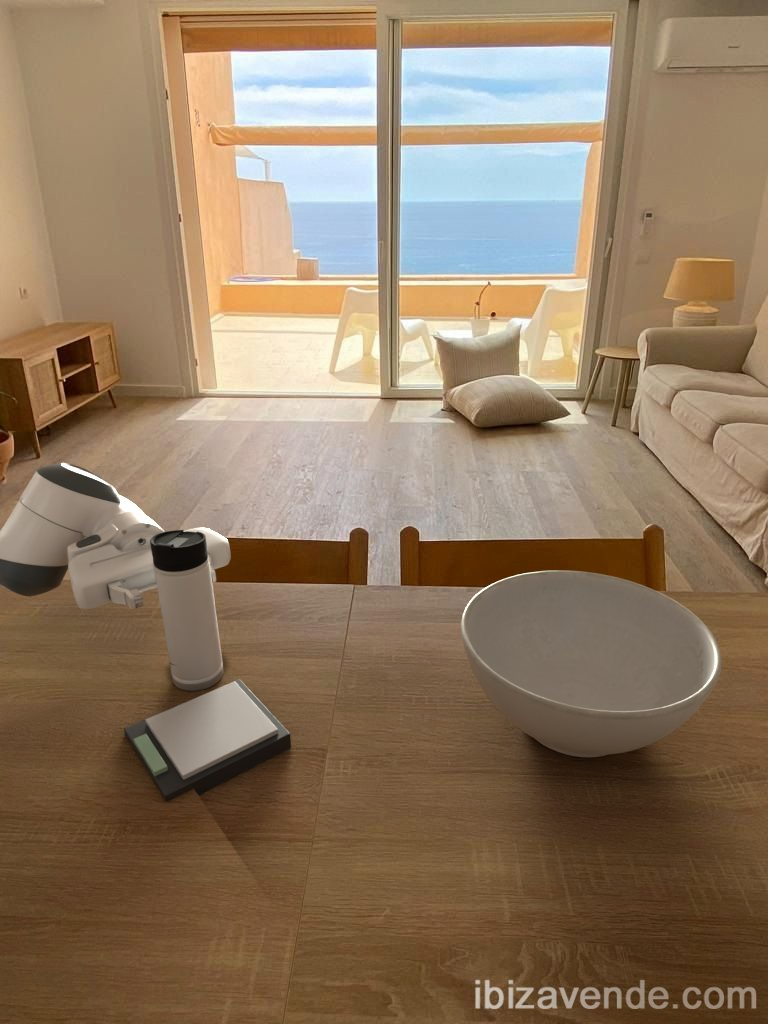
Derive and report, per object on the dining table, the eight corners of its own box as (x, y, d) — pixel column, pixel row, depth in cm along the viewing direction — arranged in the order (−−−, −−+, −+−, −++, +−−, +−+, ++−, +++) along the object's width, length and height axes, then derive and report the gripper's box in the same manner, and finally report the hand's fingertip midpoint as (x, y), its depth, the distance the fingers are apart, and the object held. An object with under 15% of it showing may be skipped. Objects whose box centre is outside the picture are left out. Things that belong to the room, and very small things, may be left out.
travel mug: (161, 689, 85) (136, 544, 77) (187, 658, 91) (166, 519, 83) (208, 697, 84) (187, 550, 75) (232, 664, 89) (214, 524, 81)
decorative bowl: (508, 628, 96) (513, 551, 91) (717, 691, 84) (737, 605, 79) (415, 749, 75) (417, 657, 70) (676, 856, 63) (699, 754, 58)
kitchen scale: (167, 811, 68) (164, 791, 67) (126, 742, 77) (122, 723, 76) (291, 747, 76) (290, 729, 75) (241, 691, 84) (239, 674, 83)
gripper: (208, 548, 102) (253, 586, 92) (63, 592, 91) (95, 640, 81) (204, 509, 100) (249, 543, 90) (53, 549, 88) (85, 594, 78)
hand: (175, 590), depth 85 cm, fingers open, 8 cm apart
